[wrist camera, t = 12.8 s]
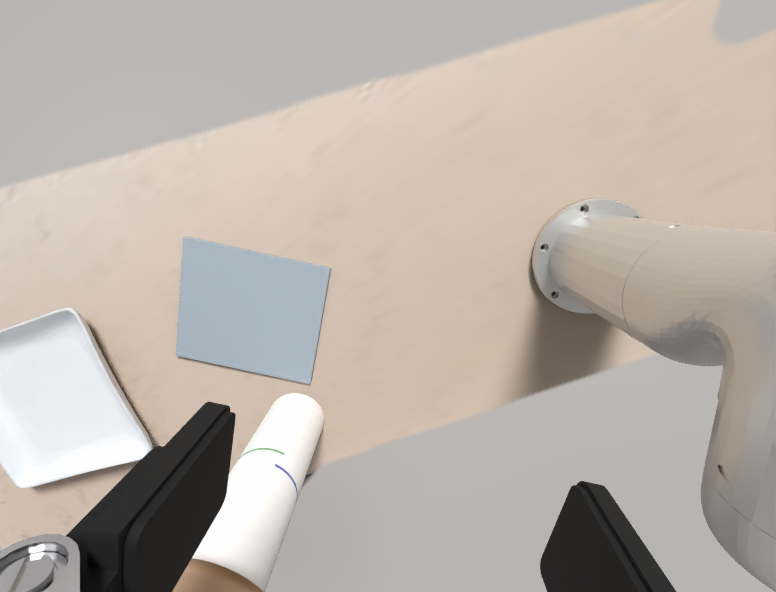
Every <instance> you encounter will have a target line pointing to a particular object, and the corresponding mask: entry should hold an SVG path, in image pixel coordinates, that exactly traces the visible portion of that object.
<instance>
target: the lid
mask: <svg viewBox="0 0 776 592" xmlns="http://www.w3.org/2000/svg"><path fill="white" fill-rule="evenodd" d="M172 592H263V591H262V590H261V589H260V588H259V587H258V586H256V585H255V584H254V583H253V582H251V581H250V580H248V579H247V578H245V577H243V576H242V575H240V574H238V573H236V572H234V571H232V570H230V569H228V568H226V567H223V566H220V565H218V564H215V563H211V562H208V561H204V560H200V559H193V558H192V559H191V560H190V562H189V564H188V566H187V567H186V569H185V571H184V572H183V574H182V576H181V578H180V579H179V581H178V583H177V584H176V586H175V588H174V589H173V591H172Z"/></svg>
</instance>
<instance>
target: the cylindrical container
mask: <svg viewBox="0 0 776 592" xmlns="http://www.w3.org/2000/svg"><path fill="white" fill-rule="evenodd" d="M323 425H324V415H323V411H322V409H321V407H320V406H319V405H318V403H317V402H316V401H314V400H313V399H312V398H310V397H308V396H306V395H303V394H297V393H292V394H286V395H283V396H282V397H280V398H278V399H277V400H276V401H275V402H274V404H273V405H272V407H271V408H270V410H269V411H268V413H267V414H266V416H265V418H264V419H263V421H262V422H261V424H260V426H259V427H258V429H257V430H256V432H255V434H254V435H253V437H252V438H251V440H250V442H249V443H248V445H247V446H246V448H245V450H244V451H243V453H242V454H241V456H240V458H239V459H238V461H237V462H236V464H235V466H234V467H233V469H232V470H231V472H230V474H229V477H228V485H227V493H226V497H225V500H224V503H223V505H222V507H221V509H220V511H219V513H218V514H217V516H216V518H215V519H214V521H213V523H212V525H211V526H210V528H209V530H208V531H207V533H206V535H205V536H204V538H203V540H202V542H201V543H200V545H199V547H198V548H197V550H196V552H195V554H194V555H193V557H192V558H193V559H200V560H204V561H208V562H211V563H215V564H218V565H220V566H223V567H226V568H228V569H230V570H232V571H234V572H236V573H238V574H240V575H242V576H243V577H245V578H247V579H248V580H250V581H251V582H253V583H254V584H255V585H256V586H258V587H259V588H260V589H261V590H262V591H263V592H265V589H266V587H267V584H268V581H269V578H270V575H271V572H272V569H273V567H274V564H275V561H276V558H277V555H278V553H279V550H280V547H281V544H282V541H283V538H284V536H285V533H286V530H287V527H288V524H289V521H290V519H291V516H292V513H293V510H294V507H295V504H296V501H297V499H298V496H299V493H300V490H301V488H302V485H303V482H304V479H305V476H306V473H307V471H308V468H309V465H310V462H311V459H312V456H313V454H314V451H315V448H316V445H317V442H318V439H319V437H320V434H321V431H322V428H323Z"/></svg>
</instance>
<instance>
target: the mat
mask: <svg viewBox="0 0 776 592" xmlns="http://www.w3.org/2000/svg"><path fill="white" fill-rule="evenodd" d="M330 270H331V268H328V267H324V266H319V265H315V264H310V263H305V262H301V261H296V260H292V259H287V258H282V257H278V256H273V255H269V254H264V253H259V252H255V251H250V250H246V249H241V248H237V247H232V246H227V245H223V244H218V243H214V242H209V241H204V240H200V239H195V238H191V237H184V240H183V255H182V271H181V286H180V301H179V317H178V332H177V348H176V356H180V357H185V358H190V359H194V360H199V361H204V362H208V363H213V364H218V365H222V366H227V367H232V368H236V369H241V370H246V371H250V372H255V373H260V374H264V375H269V376H274V377H278V378H283V379H288V380H292V381H297V382H302V383H306V384H310V383H311V379H312V373H313V368H314V362H315V356H316V351H317V345H318V339H319V333H320V328H321V322H322V316H323V310H324V305H325V299H326V293H327V287H328V282H329V276H330Z"/></svg>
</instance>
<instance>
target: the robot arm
mask: <svg viewBox="0 0 776 592" xmlns="http://www.w3.org/2000/svg"><path fill="white" fill-rule="evenodd" d="M581 207H583V210H582V211H580V208H581ZM541 245H544V248H543V249H541ZM532 270H533V274H534V278H535V281H536V283H537V285H538V287H539V289H540V290H541V292H542V293H543V294H544V295H545V297H547V298H548V299H549V300H550V301H551V302H552V303H554V304H555V305H557V306H558V307H560V308H562V309H565V310H567V311H570V312H574V313H579V314H593V313H596V314H597V315H599V316H600V317H602V318H603V319H605V320H607V321H608V322H610V323H611V324H613V325H614V326H616V327H617V328H619V329H620V330H622V331H624V332H625V333H627V334H628V335H630V336H631V337H633V338H634V339H636V340H638V341H639V342H641V343H642V344H644V345H646V346H647V347H649V348H650V349H652V350H654V351H655V352H657V353H659V354H660V355H662V356H664V357H667V358H669V359H671V360H674V361H677V362H681V363H685V364H691V365H699V366H721V365H723V370H722V377H721V383H720V387H719V392H718V405H717V409H716V414H715V419H714V424H713V428H712V433H711V437H710V442H709V447H708V451H707V456H706V461H705V466H704V471H703V476H702V484H701V503H702V509H703V513H704V516H705V519H706V522H707V524H708V526H709V528H710V530H711V531H712V533H713V534H714V536H715V537H716V539H717V541H718V542H719V543H720V544H721V546H722V547H723V548H724V549H725V550H726V551H727V552H728V553H729V555H730V556H731V557H732V558H733V559H734V560H735V561H736V562H737V563H738V564H740V565H741V566H742V567H743V568H744V569H745V570H747V571H748V572H749V573H750V574H751V575H753V576H754V577H755V578H756V579H758V580H759V581H760V582H762V583H763V584H765V585H766V586H767V587H769V588H771V589H772V590H773V591H775V592H776V231H759V230H747V229H735V228H726V227H717V226H704V225H696V224H687V223H678V222H669V221H660V220H651V219H644V217H643V216H642V215H641V214H640V213H639V212H638V211H637V210H636V209H634V208H633V207H631V206H629V205H627V204H626V203H623V202H620V201H617V200H612V199H588V200H583V201H580V202H577V203H574V204H571V205H570V206H568V207H566V208H564V209H563V210H561V211H560V212H558V213H557V214H556V215H555V216H554V217H552V218H551V219H550V220H549V222H548V223H547V224H546V225H545V226H544V228H543V229H542V231H541V233H540V234H539V236H538V238H537V241H536V243H535V246H534V250H533V256H532ZM552 292H554V294H553V295H551V293H552ZM234 425H235V413H232V412H230V407H229V406H227V405H222V404H217V403H213V402H207V403H205V404H204V405H203V406H202V407H201V408H200V409H199V410H198V412H197V413H196V414H195V415H194V416H193V417H192V418H191V419H190V420H189V421H188V422H187V423H186V424H185V425H184V426H183V427H182V428H181V429H180V430H179V432H178V433H177V434H176V435H175V436H174V437H173V438H172V439H171V440H170V441H169V442H168V443H167V444H166V445H165V446H164V447H162V446H157V447H154V448H153V449H152V450H151V451H149V452H148V453H147V454H146V455H145V456H144V457H143V458H142V459H141V460H140V461H139V462H138V463H137V464H136V466H135V467H134V468H133V469H132V470H131V471H130V472H129V473H128V474H127V475H126V476H125V477H124V478H123V479H122V480H121V481H120V482H119V483H118V484H117V485H116V486H115V487H114V488H113V489H112V490H111V491H110V492H109V493H108V494H107V495H106V496H105V497H104V498H103V499H102V500H101V501H100V502H99V503H98V504H97V505H96V506H95V507H94V508H93V509H92V510H91V511H90V512H89V513H88V514H87V515H86V516H85V517H84V518H83V519H82V520H81V521H80V522H79V523H78V524H77V525H76V526H75V527H74V528H73V529H72V530H71V531H70V532H69V533H68V534H67V535H66V536H63V535H60V534H45V535H40V536H35V537H30V538H27V539H25V540H22V541H20V542H17V543H15V544H12V545H10V546H9V547H7V548H5V549H3V550H2V551H0V592H172V591H173V589H174V588H175V586H176V584H177V583H178V581H179V579H180V578H181V576H182V574H183V572H184V571H185V569H186V567H187V566H188V564H189V562H190V560H191V559H192V557H193V555H194V554H195V552H196V550H197V548H198V547H199V545H200V543H201V542H202V540H203V538H204V536H205V535H206V533H207V531H208V530H209V528H210V526H211V525H212V523H213V521H214V519H215V518H216V516H217V514H218V513H219V511H220V509H221V507H222V505H223V503H224V500H225V497H226V493H227V485H228V477H229V468H230V460H231V451H232V443H233V434H234ZM540 569H541V575H542V578H543V581H544V583H545V586H546V589H547V592H676V591H675V589H674V588H673V586H672V585H671V583H670V582H669V580H668V579H667V577H666V576H665V574H664V573H663V572H662V570H661V568H660V567H659V566H658V564H657V562H656V561H655V560H654V558H653V557H652V555H651V554H650V552H649V551H648V549H647V548H646V546H645V545H644V543H643V542H642V540H641V539H640V537H639V536H638V535H637V533H636V531H635V530H634V529H633V527H632V526H631V524H630V523H629V521H628V520H627V518H626V517H625V515H624V514H623V512H622V511H621V509H620V508H619V506H618V505H617V503H616V502H615V500H614V499H613V497H612V496H611V494H610V493H609V492H608V490H607V489H606V488H605V487H604V486H602V485H598V484H593V483H589V482H584V481H580V482H579V483H578V484H577V485H576V486H575V485H574V486H572V487H571V489H570V491H569V493H568V496H567V498H566V501H565V503H564V505H563V507H562V510H561V512H560V515H559V517H558V520H557V522H556V525H555V527H554V529H553V531H552V534H551V536H550V539H549V541H548V543H547V546H546V548H545V551H544V553H543V555H542V558H541V563H540Z"/></svg>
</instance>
